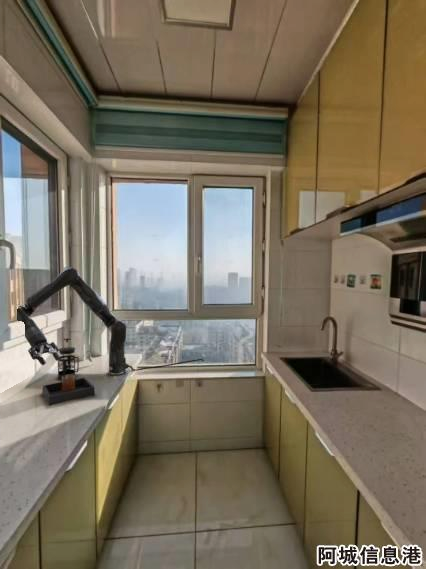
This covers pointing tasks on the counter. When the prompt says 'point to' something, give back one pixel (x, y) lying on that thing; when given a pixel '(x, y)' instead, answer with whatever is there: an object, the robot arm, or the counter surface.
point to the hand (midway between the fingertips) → (51, 361)
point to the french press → (67, 366)
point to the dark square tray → (56, 396)
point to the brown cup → (68, 383)
